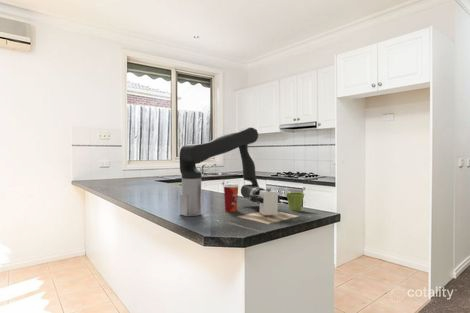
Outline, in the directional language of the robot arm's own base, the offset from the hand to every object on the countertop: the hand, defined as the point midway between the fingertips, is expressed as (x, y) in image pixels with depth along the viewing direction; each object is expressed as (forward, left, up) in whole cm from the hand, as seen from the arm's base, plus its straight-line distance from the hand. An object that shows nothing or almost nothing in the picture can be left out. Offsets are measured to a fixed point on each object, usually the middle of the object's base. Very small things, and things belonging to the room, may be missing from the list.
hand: (270, 200), depth 126 cm
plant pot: (+24, +4, -8) cm, 26 cm away
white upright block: (+1, +2, -6) cm, 7 cm away
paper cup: (-3, +23, -8) cm, 25 cm away
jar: (+1, +2, -7) cm, 8 cm away
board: (+1, +2, -8) cm, 9 cm away
